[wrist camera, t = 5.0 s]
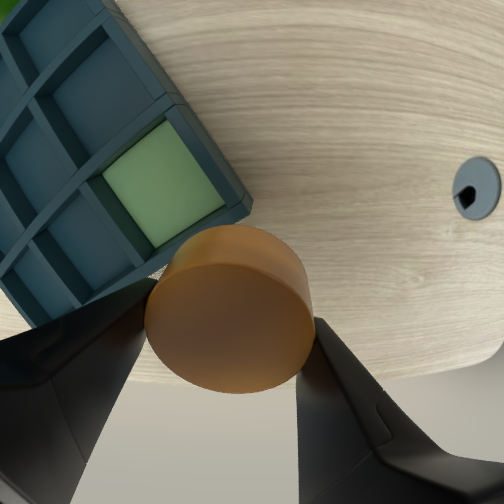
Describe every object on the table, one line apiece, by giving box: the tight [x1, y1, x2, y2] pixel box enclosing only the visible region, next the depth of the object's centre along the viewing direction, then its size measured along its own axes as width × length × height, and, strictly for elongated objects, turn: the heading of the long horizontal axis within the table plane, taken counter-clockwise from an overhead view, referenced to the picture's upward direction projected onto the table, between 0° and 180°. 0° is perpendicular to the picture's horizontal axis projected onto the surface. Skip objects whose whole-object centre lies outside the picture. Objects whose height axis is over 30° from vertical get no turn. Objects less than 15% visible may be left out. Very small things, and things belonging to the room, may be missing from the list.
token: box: [144, 225, 315, 394], centre depth 9 cm, size 5×5×2 cm
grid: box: [0, 0, 253, 329], centre depth 17 cm, size 21×21×3 cm
